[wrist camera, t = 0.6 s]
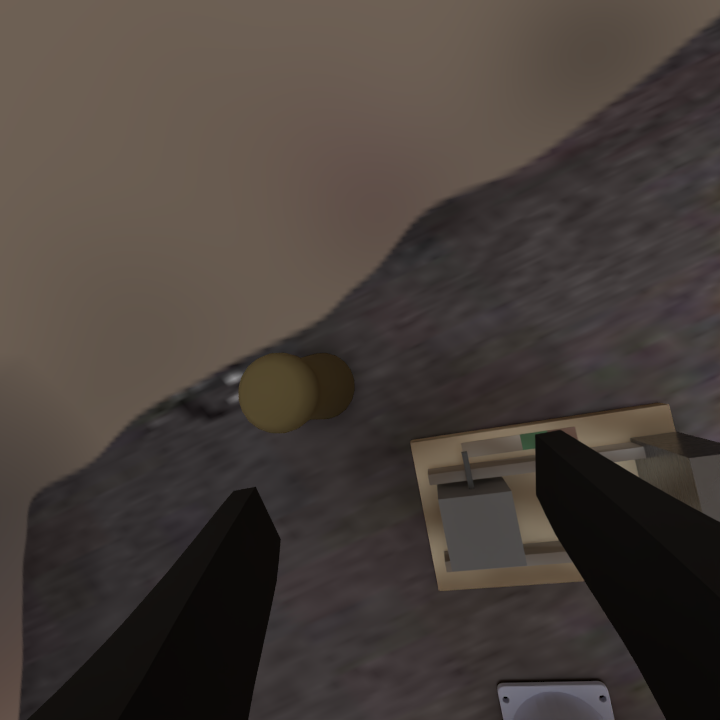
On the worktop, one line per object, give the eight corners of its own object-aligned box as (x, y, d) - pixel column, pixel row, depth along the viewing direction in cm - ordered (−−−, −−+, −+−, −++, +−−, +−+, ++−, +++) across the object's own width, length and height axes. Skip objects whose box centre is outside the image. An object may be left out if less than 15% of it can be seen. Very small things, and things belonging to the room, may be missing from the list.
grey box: (702, 543, 25) (788, 598, 19) (655, 547, 25) (724, 601, 19) (675, 431, 25) (750, 450, 19) (629, 437, 26) (689, 458, 20)
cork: (297, 424, 32) (230, 451, 21) (285, 360, 32) (214, 355, 22) (360, 413, 31) (323, 436, 20) (347, 346, 31) (305, 334, 21)
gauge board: (697, 563, 26) (728, 586, 23) (438, 582, 29) (439, 604, 26) (658, 402, 26) (684, 406, 24) (411, 440, 30) (409, 447, 27)
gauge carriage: (514, 540, 27) (527, 565, 23) (449, 546, 28) (452, 571, 24) (494, 441, 27) (503, 451, 24) (430, 450, 28) (430, 461, 25)
